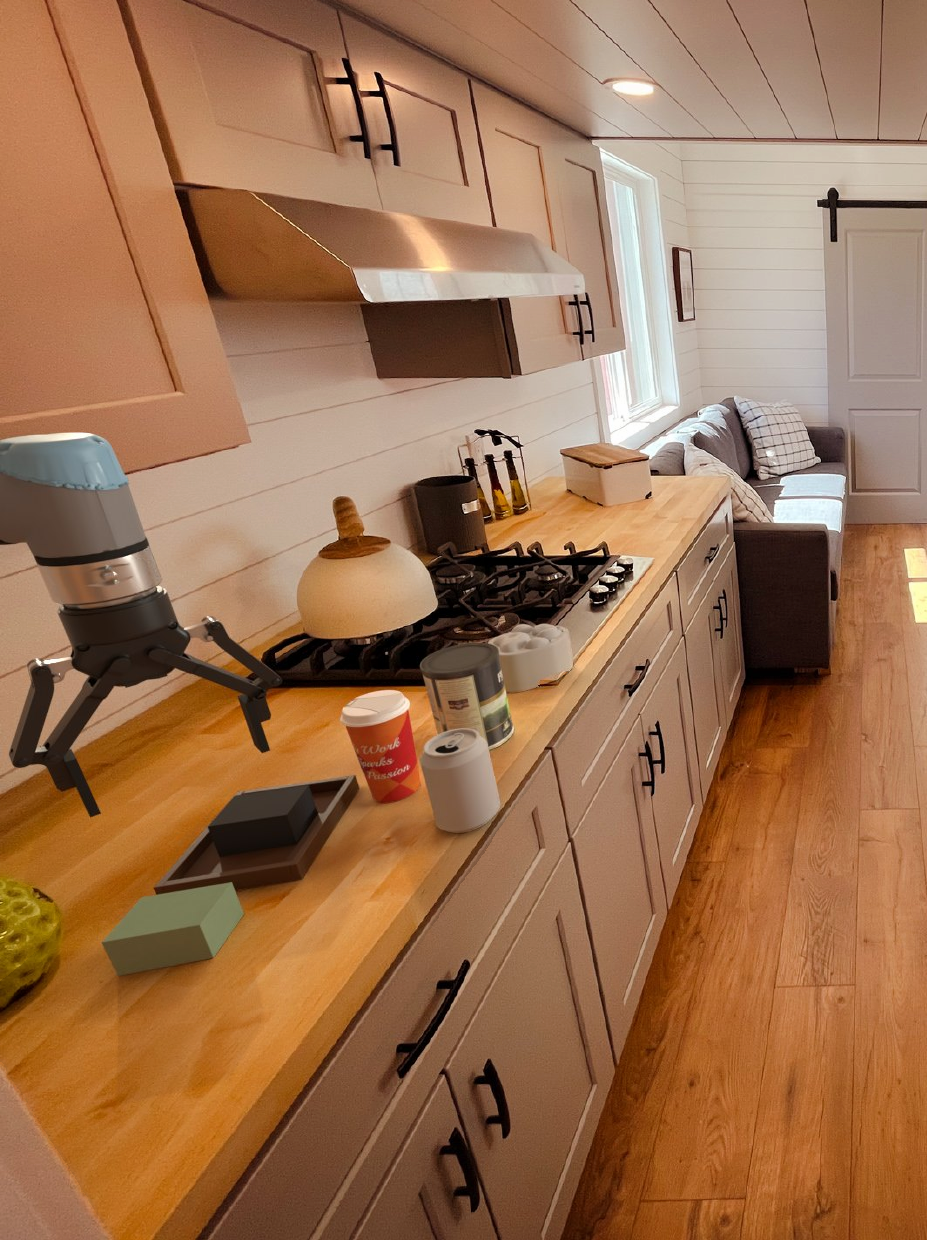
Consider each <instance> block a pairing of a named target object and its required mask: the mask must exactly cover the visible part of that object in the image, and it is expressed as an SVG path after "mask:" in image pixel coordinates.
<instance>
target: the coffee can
mask: <svg viewBox="0 0 927 1240" xmlns="http://www.w3.org/2000/svg"><path fill="white" fill-rule="evenodd" d="M419 669H420V672H421V673H422V677H423V681H424V685H425V689H426V692H427V697H428V702H429V705H430V708H431V709H430V710H431V713H432V717H433V721H434V725H435V728H436V733H437V735H438V734H441V733H443V732H446V731H449V730H453V729H460V728H469V729H474V730H476V731H477V732H479V735H480V736H481V737H482V738H484V739H485V740H486V741H487V744H488V748H489V751H491V750H494V749H496V748H498V747H500V746H501V745H503V744H505V743H506V742H507V741H508V740H509V739H511V737H512V736H513V734H514V732H515V726H514V723H513V719H512V714H511V709H510V706H509V699H508V695H507V692H506V689H505V684H504V679H503V674H502V669H501V664H500V660H499V650H498V648H497V647H496V646H494V645H492V644H488V642H465V643H461V644H459V643H458V644H455V645H451V646H447V647H445V648H441V649H439V650H437V651H434V652H433V653H430V654H428V655H427V656H426V657H424V658H423V659H422V661H420V664H419Z"/></svg>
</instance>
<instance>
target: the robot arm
mask: <svg viewBox="0 0 927 1240" xmlns="http://www.w3.org/2000/svg"><path fill="white" fill-rule="evenodd" d="M129 485H130V482H129V478H128V476H127V475H126V474H125V472H124V470H123V468H122V466H121V464H120V462H119V459H118V458H117V456H116V452H115V450H114V448H113V447H112V445H111V443H110V442H109V441H108V440H107V439H106V438H104V437H102V436H100V435H98V434H94V433H88V432H56V433H49V434H48V433H47V434H31V435H29V434H28V435H21V436H14V437H8V438H3V439H0V546H8V545H9V546H10V545H17V544H23V543H24V544H25V543H26V545H27V547H28V548H29V550H30V552H31V555H32V556H33V558H34V560H35V562H36V563H35V564H36V566H37V568H38V570H39V573H40V575H41V578H42V580H43V583H44V585H45V587H46V590H47V591H48V594H49V597H50V598H51V601H52V602H53V603H55V604H58V605H60V606H59V607H58V609H57V610H56V613H57V615H58V617H59V621H60V622H61V624H62V627H63V629H64V632H65V633H66V636H67V638H68V641H69V644H70V645H71V653H70V656H67V657H61V658H55V659H54V658H53V659H50V660H45V659H43V658H32V659H31V660H29V661H28V662H27V664H26V666H27V667H26V668H27V671H28V675H29V680H30V686H29V688H28V691H27V695H26V698H25V701H24V705H23V707H22V709H21V714H20V716H19V720H18V723H17V727H16V730H15V731H14V736H13V739H12V742H11V745H10V748H9V751H8V757H9V759H10V762H11V764H12V766H13V767H14V768H17V769H24V768H27V767H29V766H35V765H42V766H45V768H46V769H47V771H48V773H49V776H50V778H51V780H52V781H53V784H54V786H55V787H56V789H57V790H58V791H60V792H65V791H66V792H67V791H69V790H71V789H74V788H76V790H77V793H78V795H79V797H80V799H81V801H82V804H83V806H84V808H85V810H86V812H87V814H88V816H89V818H92V817H96V816H98V815H101V814H102V812H101V810H100V808H99V805H98V804H97V801H96V799H95V797H94V794H93V793H92V789H91V788H90V785H89V784H88V781H87V779H86V777H85V774H84V772H83V770H82V768H81V766H80V764H79V761H78V759H77V756H76V755H75V753H74V752H73V750H72V746H73V745H74V743H75V742H76V740H77V739H78V737H79V736H80V735H81V733H82V731H83V730H84V728H85V727H86V726H87V724H88V723H89V721H90V720H91V718H92V717H93V715H94V714H95V712H96V710H98V709H99V707H100V706H101V704H102V702H103V701H104V700H106V699H107V698H108V697H109V695H110V694H111V692H112V690H113V689H114V688H115V687H119V688H122V687H124V688H125V689H127V688H130V687H135V686H138V685H139V684H141V683H144V682H145V681H150V680H160V679H162V678H166V677H168V675H169V674H170V673H172V672H173V671H174V670H175V669H176V670H177V671H178V670H179V671H181V672H184V673H187V674H189V675H194V676H196V677H198V678H201V679H203V680H207V681H208V682H212V683H214V684H216V685H219V686H222V687H225V688H227V689H230V690H232V691H235V692H238V693H241V694H239V695H237V699H238V702H239V705H240V708H241V711H242V713H243V717H244V720H245V722H246V725H247V728H248V731H249V734H250V737H251V739H252V742H253V746H254V747H255V748H256V749H257V750H258V751H259V752H260V753H261V754H265V753H267V752H270V751H271V748H270V744H269V742H268V739H267V736H266V733H265V731H264V728H263V724H262V723H264V722H267V721H269V720H271V718H272V712H271V710H270V707H269V704H268V701H267V698H266V697H267V695H268V694H267V692H269V690H270V689H272V688H275V687H279V686H281V684H283V678H282V677H281V675H279V674H277V673H276V672H275V671H274V670H273V669H271V668H270V667H269V666H267V665H266V664H265V663H264V662H262V660H260V659H259V658H257V657H256V656H254V655H253V654H252V653H250V651H248V650H246V649H245V648H244V647H243V646H242V645H240V644H239V643H237V642H236V641H235V640H234V639H232V638H231V637H230V636H229V634H228V632H227V630H226V628H225V627H224V625H223V623H222V622H220V621H219V620H218V619H217V618H216V617H215V616H212V615H208V616H205V617H203V618H202V619H201V621H200V622H198V623H195V624H191V625H189V626H186V627H183V626H182V625H181V624H180V623H179V621H178V618H177V615H176V612H175V610H174V606H173V604H172V601H171V598H170V596H169V593H168V591H167V589H166V588H164V587H162V586H161V585H160V584H161V583H162V582H163V578H162V575H161V572H160V569H159V567H158V564H157V562H156V559H155V556H154V554H153V552H152V549H151V546H150V543H149V540H148V538H147V536H146V534H145V530H144V527H143V524H142V521H141V518H140V515H139V513H138V510H137V507H136V503H135V500H134V497H133V495H132V492H131V489H130V486H129ZM194 638H196V639H197V638H198V639H200V640H201V641H202V642H204V643H210V642H213V643H214V644H216V645H217V646H218V647H219V648H220V649H221V650H223V652H225V653H227V654H228V655H229V656H231V657H232V658H233V659H234V660H236V661H237V662H238V663H240V664H242V666H244V667H245V668H246V669H247V670H249V671H250V672H252V673H253V674H255V676H257V678H255V679H254V680H251V679H249V678H246V677H243V676H241V675H240V674H237V673H234V672H231V671H229V670H226V669H224V668H221V667H219V666H216V665H214V664H212V663H209V662H206V661H204V660H202V659H199V658H197V657H194V656H193V655H191V654H188V653H186V652H185V651H186V650H187V648H188V646H189V644H190V642H191V640H192V639H194ZM71 670H75V671H77V672H79V673H82V674H83V675H87V678H86V679H85V681H84V683H83V684H82V686H81V690H80V691H79V692H78V694H76V697H75V698H74V700H73V701H72V702H71V704H70V706H69V707H68V708H67V710H66V711H65V712H64V714H63V716H62V717H61V718H60V720H59V721H58V723H57V724H56V725H55V727H54V729H53V730H52V732H51V733H50V734H49V736H48V737H47V738H46V740H45V741H44V743H43V744H42V745H39V746H38V744H39V741H40V738H41V736H42V732H43V729H44V726H45V724H46V723H45V722H46V720H47V718H48V717H47V716H48V713H49V710H50V707H51V703H52V700H53V697H54V693H55V684H58V683H60V682H62V681H63V680H64V679H65V677H66V673H68V672H70V671H71Z"/></svg>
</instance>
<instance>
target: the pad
mask: <svg viewBox="0 0 927 1240" xmlns="http://www.w3.org/2000/svg"><path fill="white" fill-rule="evenodd" d="M244 915H245V912H244V910H243V907H242V904H241V902H240V899H239V897H238V894H237V891H235V889H234V886H233V884H232V882H230V883H224V884H218V885H212V886H206V887H200V888H194V889H189V890H183V891H177V892H171V893H165V894H159V895H156V894H153V895H148V896H141V897H139V899H138V900H137V902H136V903H134V905H133V906H132V907H131V908H130V909H129V911H128V912H127V913H126V914H125V915H124V916H123V917H122V919H121V920H120V921H119V922H118V923H117V924H116V926H115V927H114V928H113V929H112V930H111V931H110V932H109V933H108V934H107V935H106V937H105V938H104V939H103V940H102V941H101V945H102V946H103V949H104V951H105V954H106V955H107V956H108V959H109V961H110V963H111V965H112V967H113V969H114V972H115V973H116V975H117V977H121V976H125V975H126V976H127V975H130V974H131V975H132V974H137V973H141V972H142V973H143V972H147V971H152V970H158V969H162V968H168V967H173V966H179V965H184V964H189V963H194V962H199V961H205V960H210V959H214V958H215V957H216V956H217V954H218V952H219V951H220V950H221V948H222V947H223V945H224V944H225V942H226V941H227V939H228V938H229V937H230V935H231V934H232V932H233V931H234V929H235V928H236V927H237V925H238V924H239V922H240V921H241V920H242V918H243V916H244Z"/></svg>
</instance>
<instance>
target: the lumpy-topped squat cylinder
mask: <svg viewBox="0 0 927 1240" xmlns="http://www.w3.org/2000/svg"><path fill="white" fill-rule="evenodd" d="M487 643H488V644H492V645H494V646H496V647H497V648H498V650H499V660H500V664H501V669H502V674H503V679H504V684H505V689H506V693H522V692H525V691H529V690H533V689H536V687H537V688H540V687H539V686H538V685H540V684H539V682H540V680H541V679H543V678H545V677H548V676H550V675H553V674H556V673H558V672H561V671H570V670H571V668H572V666H573V660H574V655H573V649H572V643H571V636H570V631H569V629H568V628H567V627H565V626H562V625H552V624H549V623H540V624H538V625H534V626H532V625H529V624H527V623H526V624H525V623H520V624H517V625H516V626H514V627H513V628H512V629H511V631H510V632H507V633H503V634H500V635H498V636H495V637H493V638H492V639H490V640H489V641H488V642H487ZM571 671H572V670H571ZM571 671H570V672H571Z"/></svg>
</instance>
